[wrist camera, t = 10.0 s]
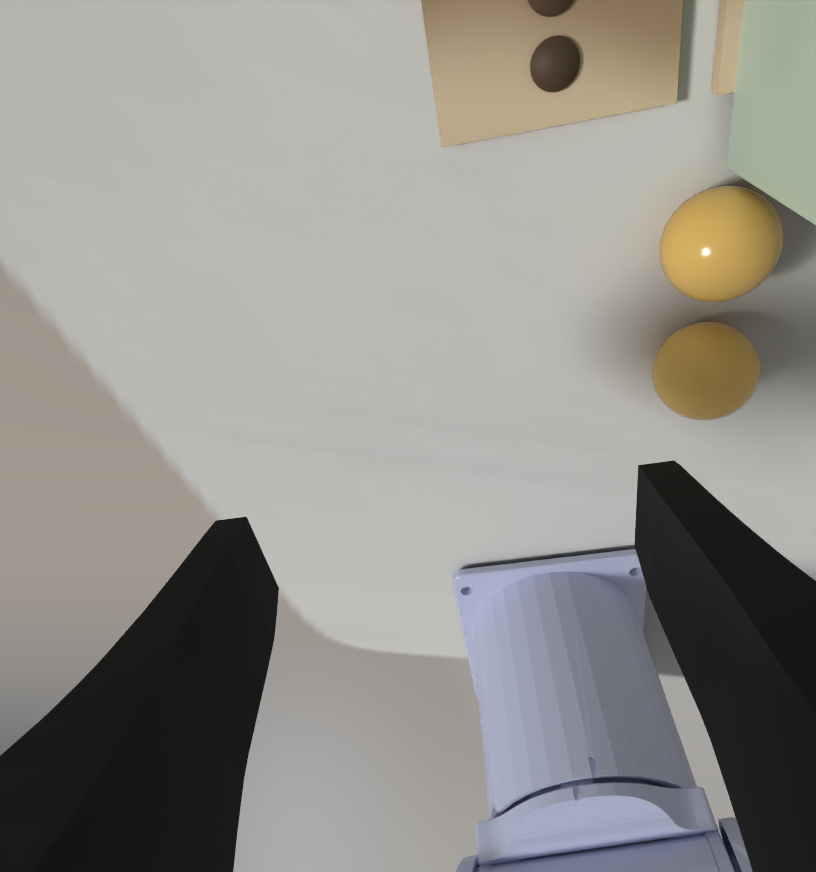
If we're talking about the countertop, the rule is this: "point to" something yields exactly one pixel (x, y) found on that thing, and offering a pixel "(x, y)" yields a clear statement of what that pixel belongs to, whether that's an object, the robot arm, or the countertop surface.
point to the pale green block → (777, 103)
